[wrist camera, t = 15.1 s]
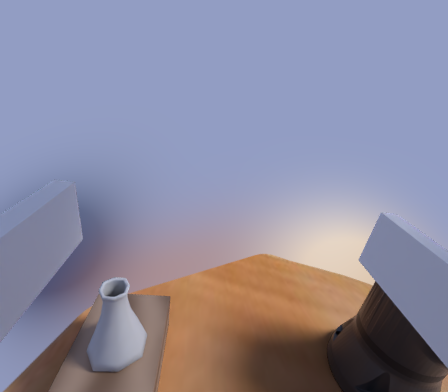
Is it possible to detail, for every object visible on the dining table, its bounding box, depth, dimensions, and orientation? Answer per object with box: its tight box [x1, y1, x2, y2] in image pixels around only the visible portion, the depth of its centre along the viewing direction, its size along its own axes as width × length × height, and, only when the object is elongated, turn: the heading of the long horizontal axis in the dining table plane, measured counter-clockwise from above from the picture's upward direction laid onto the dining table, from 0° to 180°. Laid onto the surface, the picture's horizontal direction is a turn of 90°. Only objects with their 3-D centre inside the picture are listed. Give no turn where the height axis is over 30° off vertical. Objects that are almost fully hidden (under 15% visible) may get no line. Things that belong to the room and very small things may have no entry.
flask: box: [87, 278, 147, 372], centre depth 29 cm, size 7×7×10 cm
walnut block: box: [48, 294, 170, 392], centre depth 33 cm, size 11×16×7 cm
